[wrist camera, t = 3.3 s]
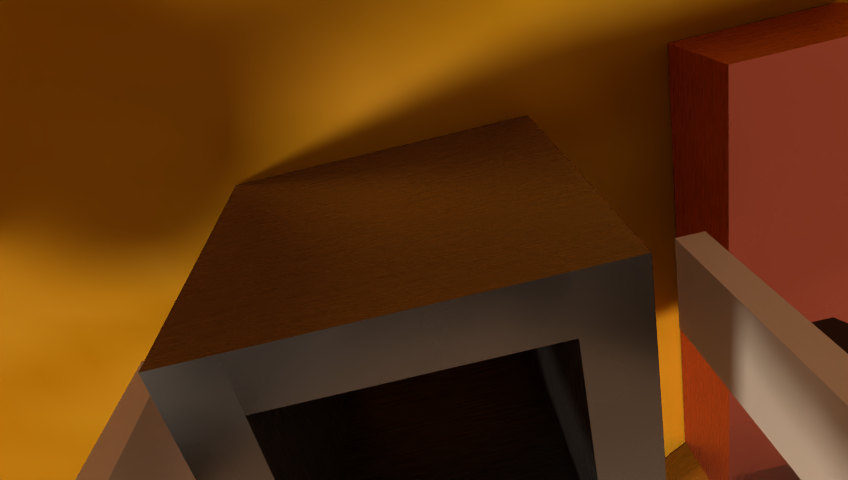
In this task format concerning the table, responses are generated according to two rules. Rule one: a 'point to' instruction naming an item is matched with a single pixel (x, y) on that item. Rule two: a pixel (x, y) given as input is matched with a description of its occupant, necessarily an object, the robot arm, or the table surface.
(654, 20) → the table surface
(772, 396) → the robot arm
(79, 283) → the table surface
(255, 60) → the table surface
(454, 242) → the socket
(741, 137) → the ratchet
